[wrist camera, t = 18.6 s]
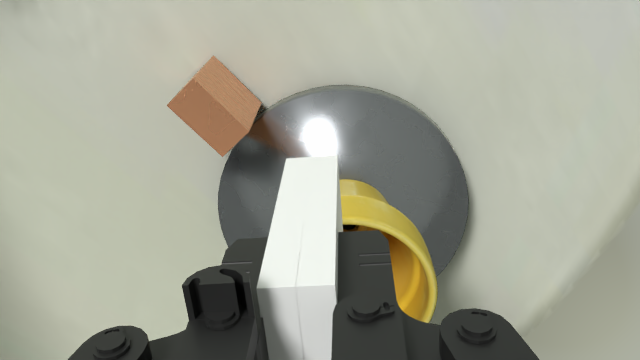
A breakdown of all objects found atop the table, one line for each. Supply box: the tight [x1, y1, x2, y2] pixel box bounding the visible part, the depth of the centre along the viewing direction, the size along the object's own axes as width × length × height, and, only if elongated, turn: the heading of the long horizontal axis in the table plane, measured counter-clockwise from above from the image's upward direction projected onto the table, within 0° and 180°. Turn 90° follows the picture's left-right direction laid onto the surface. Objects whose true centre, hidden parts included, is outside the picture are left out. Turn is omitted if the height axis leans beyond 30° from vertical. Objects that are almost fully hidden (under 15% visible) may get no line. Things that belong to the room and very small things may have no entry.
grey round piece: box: [167, 56, 468, 277], centre depth 41 cm, size 18×23×6 cm
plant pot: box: [339, 179, 438, 323], centre depth 39 cm, size 10×10×10 cm
